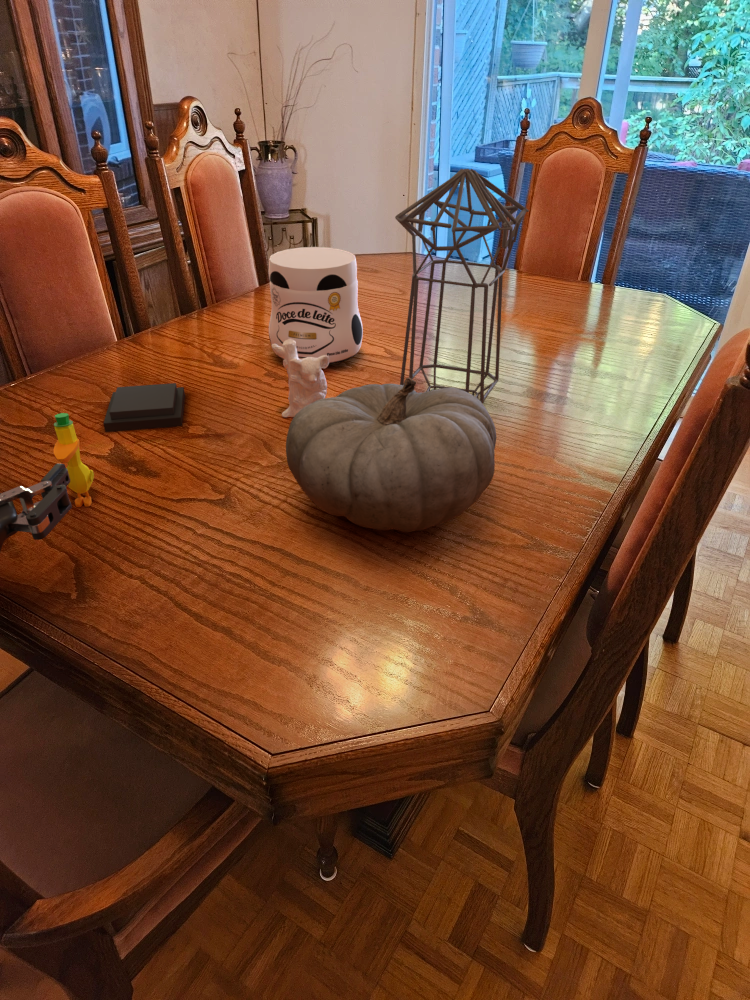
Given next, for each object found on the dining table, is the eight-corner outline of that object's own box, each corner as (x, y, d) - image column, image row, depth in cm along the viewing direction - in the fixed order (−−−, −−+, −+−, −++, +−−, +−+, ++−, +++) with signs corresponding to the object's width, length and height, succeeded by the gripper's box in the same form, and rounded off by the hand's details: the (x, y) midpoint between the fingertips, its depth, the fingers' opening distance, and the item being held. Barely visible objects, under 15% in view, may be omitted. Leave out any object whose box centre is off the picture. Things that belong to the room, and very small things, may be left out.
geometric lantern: (385, 423, 103) (390, 173, 83) (418, 384, 115) (428, 158, 95) (485, 442, 98) (515, 181, 78) (508, 399, 110) (538, 165, 91)
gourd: (496, 565, 70) (485, 409, 62) (275, 568, 76) (241, 425, 68) (502, 467, 92) (494, 342, 84) (329, 475, 98) (308, 359, 90)
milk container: (287, 380, 116) (279, 275, 106) (259, 346, 129) (250, 250, 119) (377, 365, 122) (378, 264, 112) (342, 334, 135) (340, 242, 125)
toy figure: (93, 517, 81) (69, 430, 75) (62, 520, 81) (35, 432, 74) (102, 488, 87) (80, 404, 80) (73, 490, 86) (49, 406, 80)
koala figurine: (272, 422, 103) (266, 348, 96) (282, 403, 108) (277, 332, 102) (326, 425, 102) (323, 351, 95) (333, 406, 107) (331, 334, 101)
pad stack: (106, 437, 98) (101, 415, 96) (116, 405, 107) (111, 385, 105) (183, 431, 100) (179, 409, 98) (186, 400, 109) (182, 380, 107)
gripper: (-131, 594, 60) (-28, 495, 73) (22, 602, 59) (97, 501, 73) (-168, 527, 56) (-52, 435, 69) (-4, 535, 55) (81, 440, 68)
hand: (24, 469), depth 71 cm, fingers open, 8 cm apart
